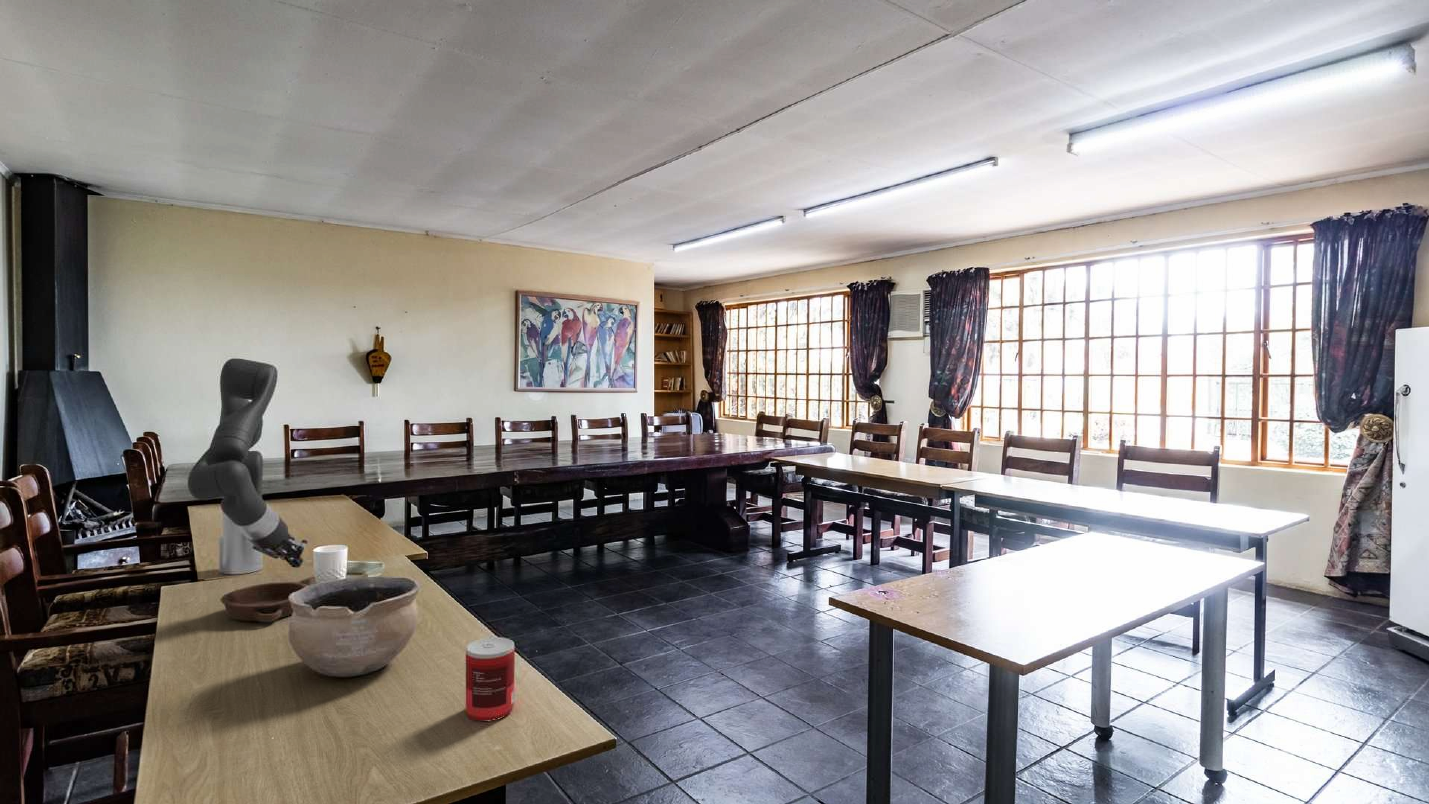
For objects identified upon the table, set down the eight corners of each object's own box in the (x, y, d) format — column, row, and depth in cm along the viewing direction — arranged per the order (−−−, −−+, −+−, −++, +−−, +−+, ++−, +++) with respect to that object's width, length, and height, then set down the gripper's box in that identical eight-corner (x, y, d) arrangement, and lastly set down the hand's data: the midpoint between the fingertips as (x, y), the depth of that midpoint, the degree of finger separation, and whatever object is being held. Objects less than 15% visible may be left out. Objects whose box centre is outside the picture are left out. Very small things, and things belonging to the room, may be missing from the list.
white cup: (305, 589, 181) (305, 550, 181) (330, 581, 188) (330, 543, 188) (330, 592, 179) (330, 553, 178) (354, 584, 186) (354, 546, 186)
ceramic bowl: (269, 698, 120) (269, 611, 120) (306, 650, 141) (306, 576, 141) (410, 685, 126) (410, 602, 126) (425, 641, 147) (426, 569, 146)
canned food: (496, 696, 122) (496, 633, 122) (524, 710, 117) (524, 644, 117) (455, 711, 116) (455, 645, 116) (483, 727, 111) (483, 658, 111)
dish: (218, 635, 149) (217, 612, 149) (223, 606, 168) (223, 585, 167) (313, 621, 158) (313, 599, 158) (308, 595, 177) (308, 575, 177)
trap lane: (281, 596, 175) (281, 584, 174) (340, 571, 198) (339, 560, 198) (331, 599, 173) (331, 586, 173) (384, 572, 197) (384, 562, 197)
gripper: (296, 511, 160) (331, 551, 173) (242, 509, 162) (280, 549, 174) (280, 539, 155) (317, 579, 168) (224, 537, 157) (264, 577, 169)
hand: (298, 564), depth 171 cm, fingers closed
